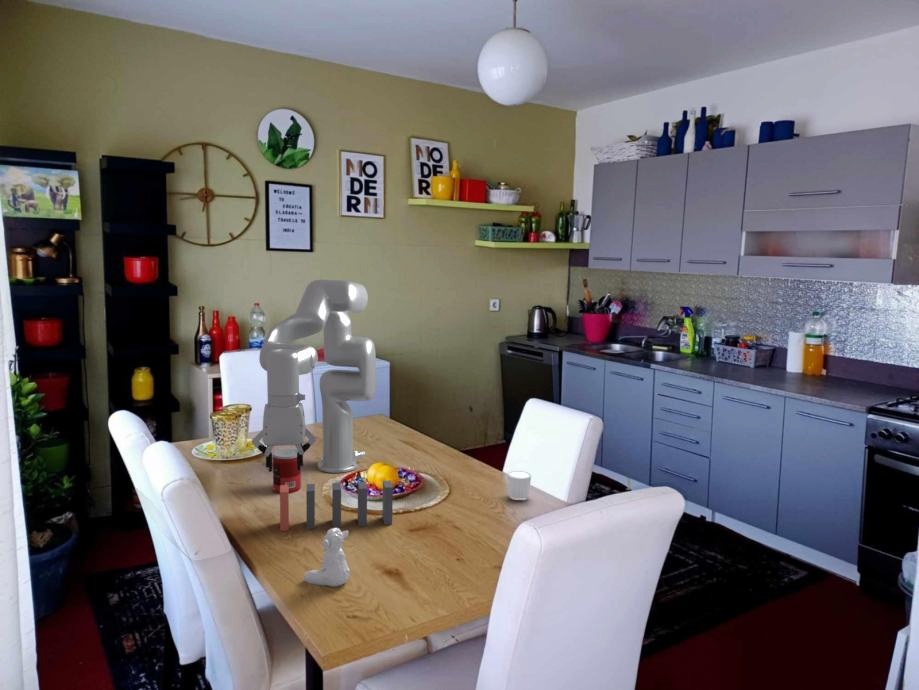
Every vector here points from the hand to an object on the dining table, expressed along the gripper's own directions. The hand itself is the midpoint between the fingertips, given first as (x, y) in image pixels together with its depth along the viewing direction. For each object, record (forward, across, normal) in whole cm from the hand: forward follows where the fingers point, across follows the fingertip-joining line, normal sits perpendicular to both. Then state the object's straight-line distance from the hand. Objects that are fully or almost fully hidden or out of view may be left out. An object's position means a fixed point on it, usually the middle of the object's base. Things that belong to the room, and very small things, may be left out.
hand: (284, 468), depth 168 cm
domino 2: (+15, -13, +1) cm, 20 cm away
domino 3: (+15, -19, +1) cm, 25 cm away
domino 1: (+15, -6, +1) cm, 16 cm away
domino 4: (+15, -26, +1) cm, 30 cm away
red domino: (+15, 0, +1) cm, 15 cm away
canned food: (+16, +1, -25) cm, 30 cm away
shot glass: (+16, -65, -10) cm, 68 cm away
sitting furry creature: (+15, -11, +30) cm, 35 cm away
